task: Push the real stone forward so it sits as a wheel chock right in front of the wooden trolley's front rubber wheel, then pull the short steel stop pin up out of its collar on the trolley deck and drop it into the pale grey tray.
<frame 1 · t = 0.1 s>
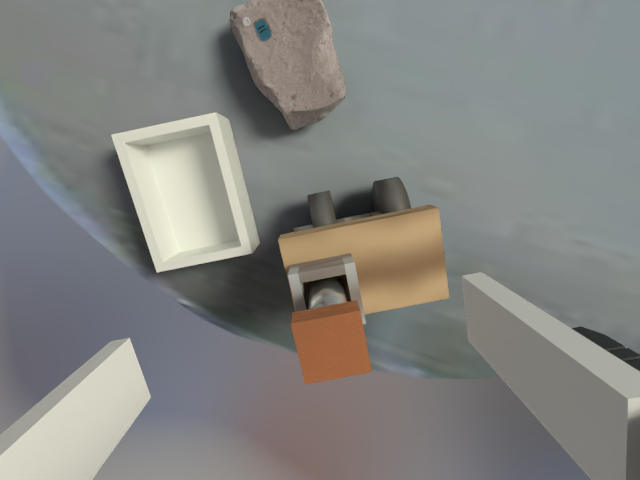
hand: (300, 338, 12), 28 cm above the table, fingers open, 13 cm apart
stone: (293, 63, 36), on the table
trolley: (353, 244, 40), on the table
tray: (201, 193, 39), on the table
stop pin: (326, 287, 31), point 10 cm above the table, touching trolley
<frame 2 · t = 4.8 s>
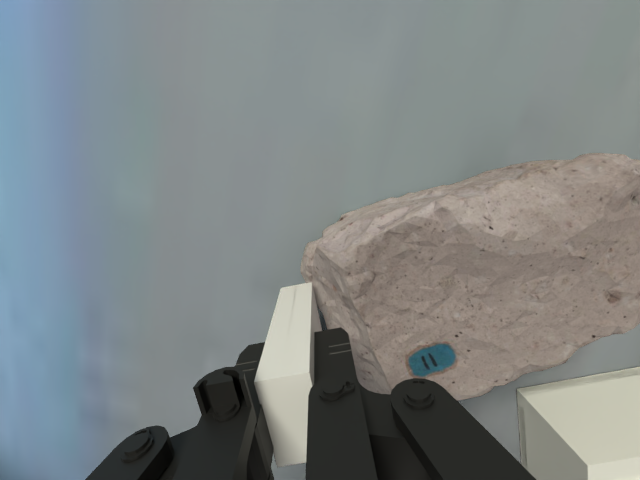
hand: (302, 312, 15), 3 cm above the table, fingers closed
stone: (430, 265, 17), on the table, touching gripper
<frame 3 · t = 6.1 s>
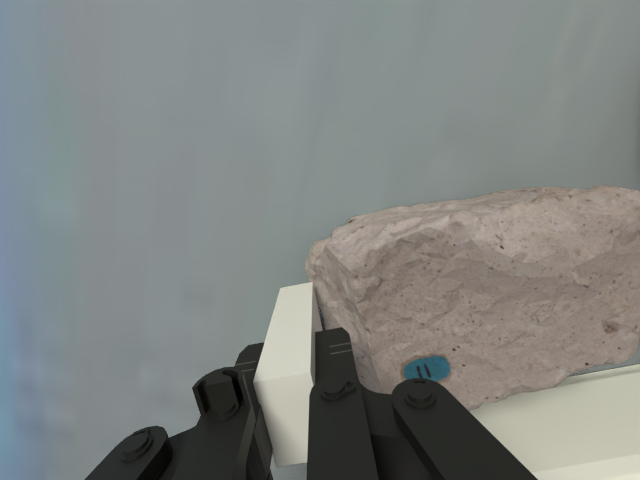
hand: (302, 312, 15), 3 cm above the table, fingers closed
stone: (431, 277, 18), on the table, touching gripper
tray: (579, 450, 20), on the table
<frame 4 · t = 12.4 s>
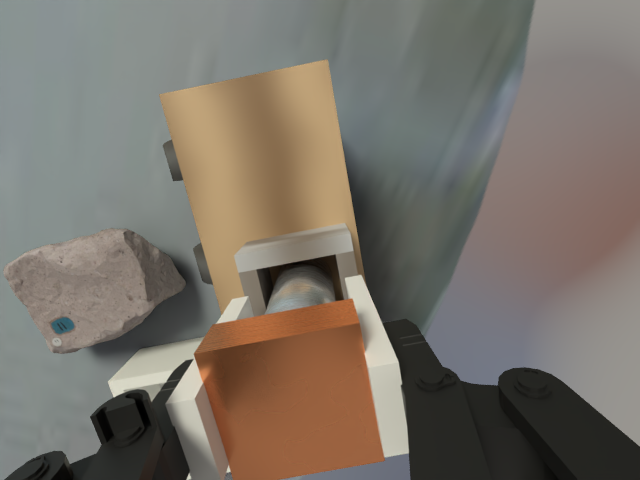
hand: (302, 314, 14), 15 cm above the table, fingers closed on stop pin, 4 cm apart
stone: (114, 276, 30), on the table
trolley: (289, 199, 28), on the table
tray: (228, 383, 32), on the table
stop pin: (305, 279, 19), point 10 cm above the table, touching gripper, trolley
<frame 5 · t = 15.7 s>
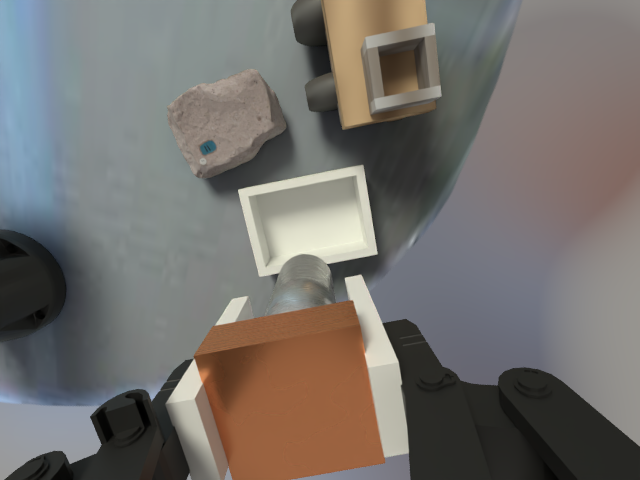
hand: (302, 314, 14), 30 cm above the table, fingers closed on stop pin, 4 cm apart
stone: (230, 128, 41), on the table
trolley: (362, 67, 39), on the table
tray: (310, 216, 43), on the table
stop pin: (305, 279, 19), point 25 cm above the table, touching gripper
when the fingers open (8 cm above the table, at t = 19.1 s): stop pin drops 2 cm, resting on tray.
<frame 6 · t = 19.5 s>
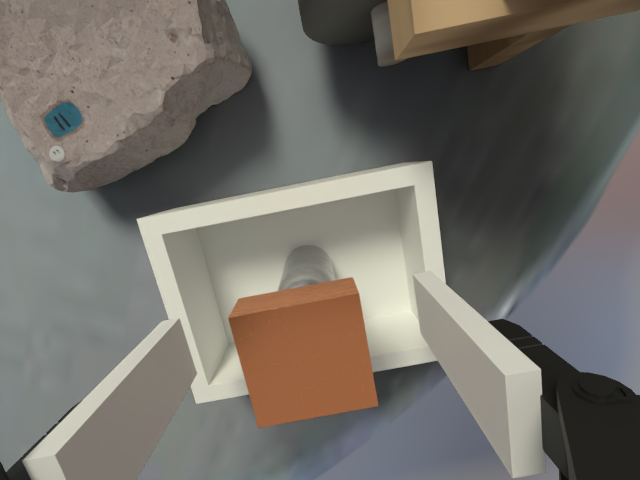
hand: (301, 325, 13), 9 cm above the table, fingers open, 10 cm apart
stone: (137, 85, 20), on the table
tray: (306, 264, 22), on the table
stop pin: (308, 268, 21), point 1 cm above the table, touching tray
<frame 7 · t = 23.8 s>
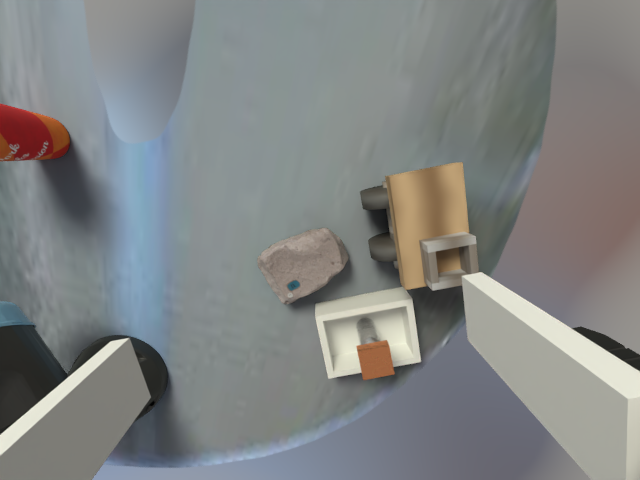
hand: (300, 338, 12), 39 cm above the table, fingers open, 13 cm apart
stone: (302, 259, 52), on the table
coffee cup: (51, 138, 47), on the table
trolley: (409, 216, 51), on the table
tray: (364, 324, 55), on the table
stop pin: (365, 326, 54), point 1 cm above the table, touching tray
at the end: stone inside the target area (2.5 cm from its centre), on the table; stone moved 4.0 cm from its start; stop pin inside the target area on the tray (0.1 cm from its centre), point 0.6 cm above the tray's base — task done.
